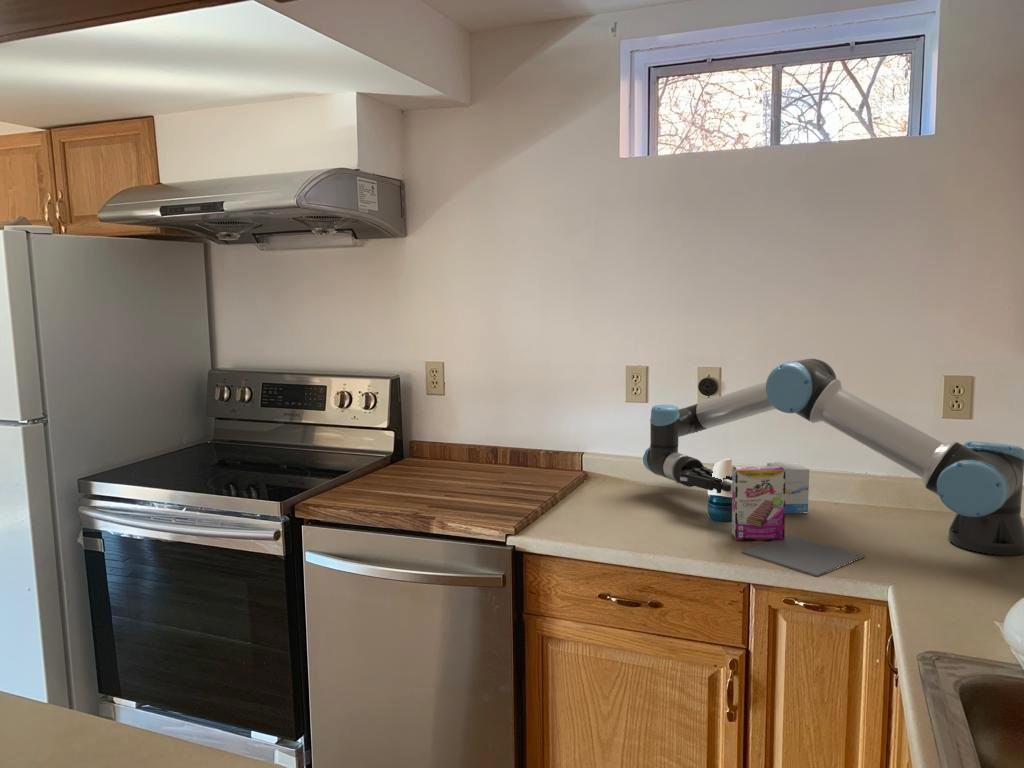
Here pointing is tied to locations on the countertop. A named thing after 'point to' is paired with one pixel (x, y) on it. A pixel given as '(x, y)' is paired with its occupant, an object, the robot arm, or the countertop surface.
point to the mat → (802, 555)
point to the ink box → (795, 486)
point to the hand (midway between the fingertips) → (742, 491)
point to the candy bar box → (758, 502)
